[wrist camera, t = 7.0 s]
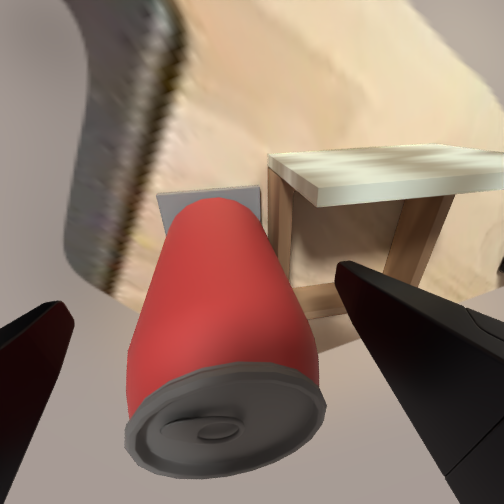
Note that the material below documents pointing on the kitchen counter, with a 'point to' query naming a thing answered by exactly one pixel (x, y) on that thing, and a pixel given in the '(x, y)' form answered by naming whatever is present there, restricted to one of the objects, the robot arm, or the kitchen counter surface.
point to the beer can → (220, 352)
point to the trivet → (178, 201)
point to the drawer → (377, 200)
